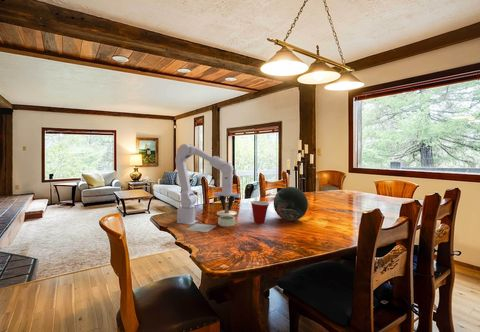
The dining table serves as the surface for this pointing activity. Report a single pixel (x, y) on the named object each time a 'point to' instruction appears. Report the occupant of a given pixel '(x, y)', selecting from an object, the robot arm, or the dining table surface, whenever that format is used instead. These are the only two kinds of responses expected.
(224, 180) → the robot arm
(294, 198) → the decorative sphere
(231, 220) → the bowl
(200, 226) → the mat
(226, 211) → the lid
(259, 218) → the plastic cup
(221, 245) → the dining table surface
